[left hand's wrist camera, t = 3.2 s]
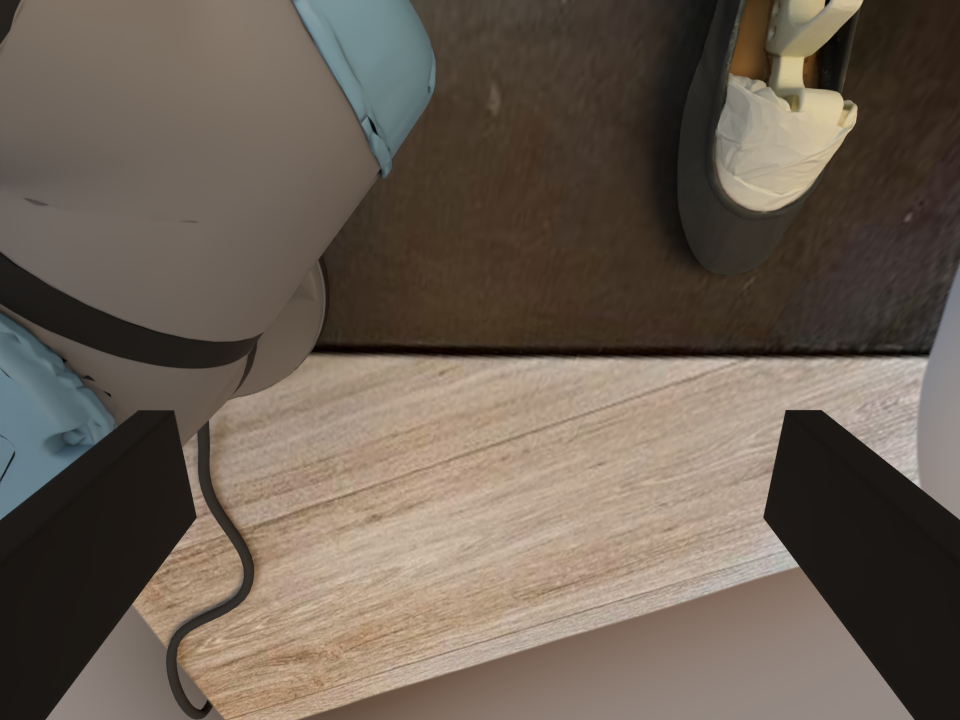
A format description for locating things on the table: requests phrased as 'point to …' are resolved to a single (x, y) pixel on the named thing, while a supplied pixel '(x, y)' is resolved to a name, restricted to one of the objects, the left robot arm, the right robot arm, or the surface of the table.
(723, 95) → the ballet flat
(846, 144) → the table surface
